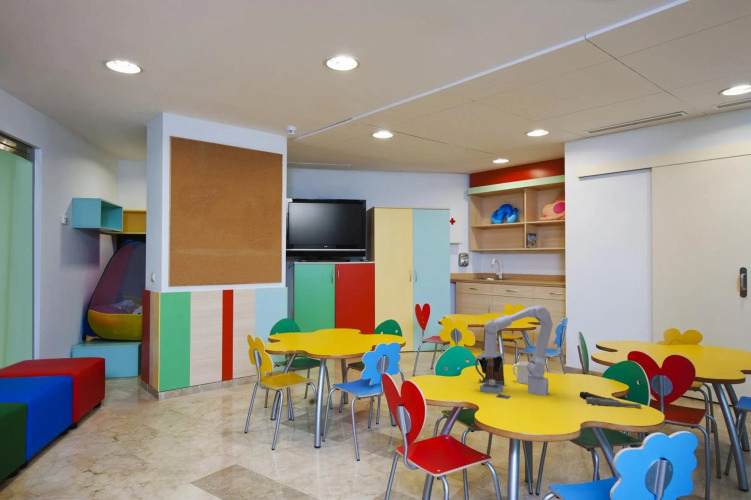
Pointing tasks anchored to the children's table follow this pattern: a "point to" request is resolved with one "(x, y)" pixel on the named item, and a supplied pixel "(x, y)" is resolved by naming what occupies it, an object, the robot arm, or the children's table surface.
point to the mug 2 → (521, 372)
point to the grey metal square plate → (503, 396)
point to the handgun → (604, 400)
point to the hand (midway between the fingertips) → (490, 372)
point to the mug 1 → (492, 372)
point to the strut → (492, 383)
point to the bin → (487, 389)
